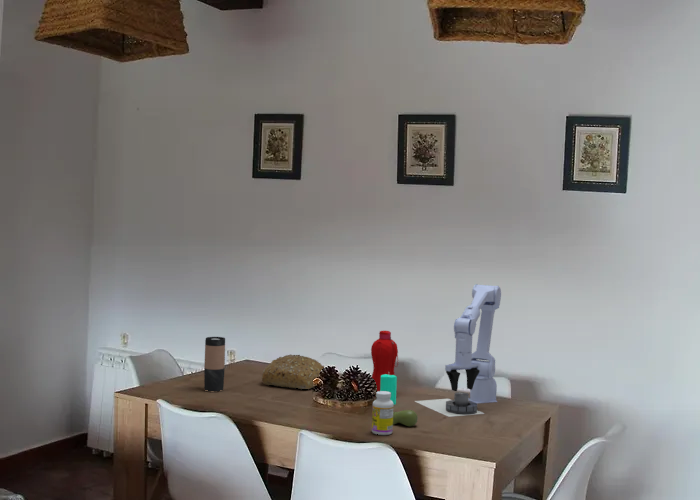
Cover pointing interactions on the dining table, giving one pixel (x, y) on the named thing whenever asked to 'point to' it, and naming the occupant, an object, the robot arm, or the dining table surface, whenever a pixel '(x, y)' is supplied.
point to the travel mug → (214, 363)
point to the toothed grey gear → (461, 408)
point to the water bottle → (383, 356)
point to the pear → (405, 417)
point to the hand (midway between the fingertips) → (462, 389)
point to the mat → (441, 406)
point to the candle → (389, 385)
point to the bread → (292, 372)
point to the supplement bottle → (382, 414)
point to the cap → (461, 398)
